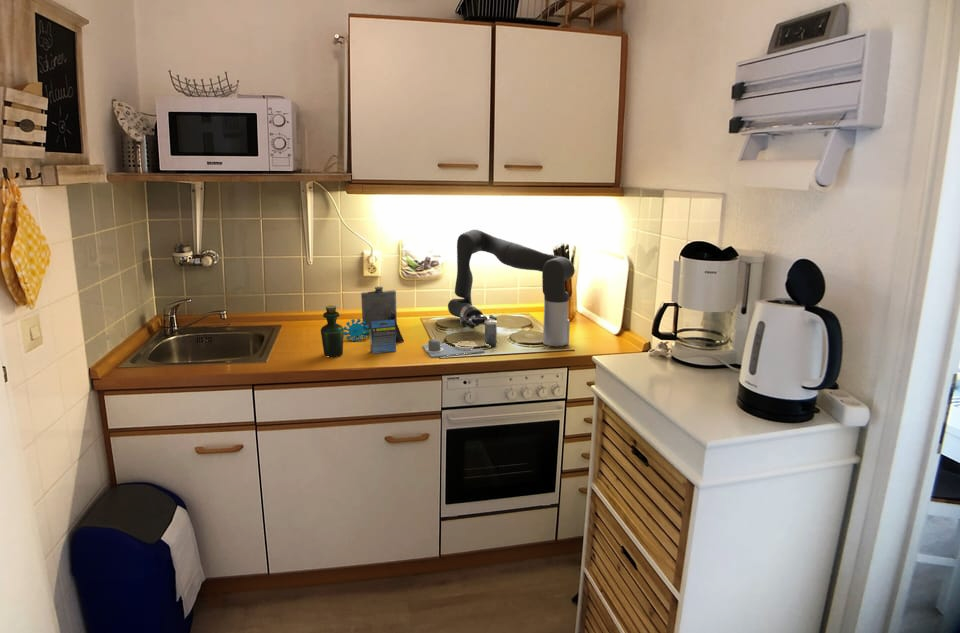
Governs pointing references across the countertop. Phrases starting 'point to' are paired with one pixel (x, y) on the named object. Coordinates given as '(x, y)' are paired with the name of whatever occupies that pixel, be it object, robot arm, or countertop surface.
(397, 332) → the door stopper
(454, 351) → the plate
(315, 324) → the countertop surface
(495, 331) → the steel pin
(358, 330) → the blue virus model
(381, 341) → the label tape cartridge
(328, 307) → the potion bottle
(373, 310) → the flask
